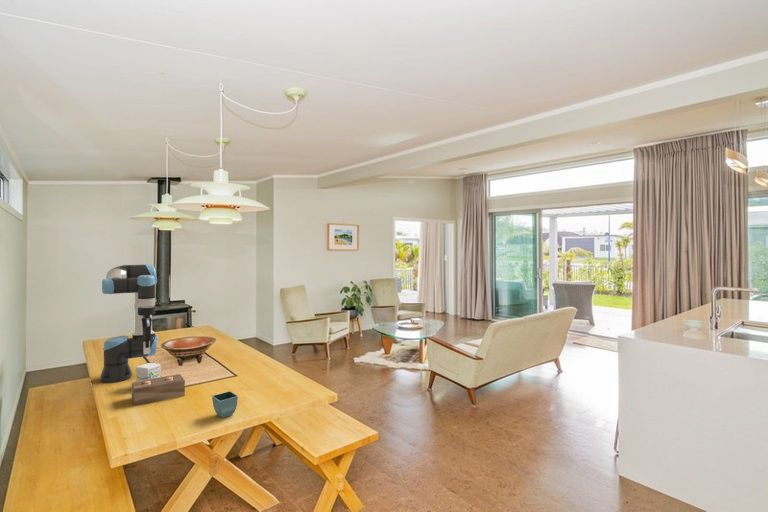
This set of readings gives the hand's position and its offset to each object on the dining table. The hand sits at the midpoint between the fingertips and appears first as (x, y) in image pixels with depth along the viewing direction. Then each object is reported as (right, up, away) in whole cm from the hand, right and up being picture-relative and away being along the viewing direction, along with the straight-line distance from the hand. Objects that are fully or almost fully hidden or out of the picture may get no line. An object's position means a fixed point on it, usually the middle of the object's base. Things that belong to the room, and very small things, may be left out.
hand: (146, 353), depth 203 cm
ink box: (-9, -22, +18) cm, 30 cm away
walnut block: (+4, -23, +4) cm, 23 cm away
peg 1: (0, -22, +1) cm, 22 cm away
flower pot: (+45, -25, -16) cm, 54 cm away
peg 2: (+8, -22, +7) cm, 24 cm away
